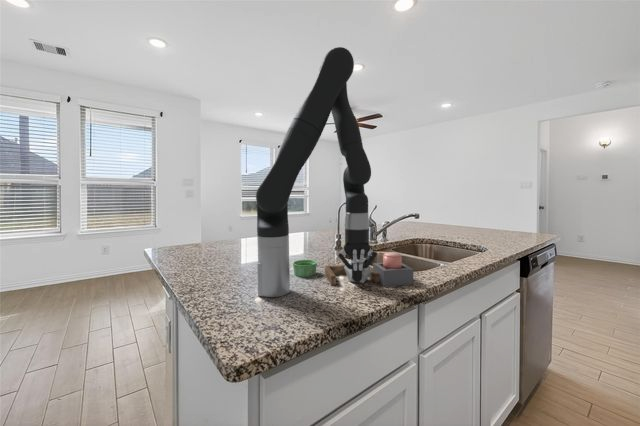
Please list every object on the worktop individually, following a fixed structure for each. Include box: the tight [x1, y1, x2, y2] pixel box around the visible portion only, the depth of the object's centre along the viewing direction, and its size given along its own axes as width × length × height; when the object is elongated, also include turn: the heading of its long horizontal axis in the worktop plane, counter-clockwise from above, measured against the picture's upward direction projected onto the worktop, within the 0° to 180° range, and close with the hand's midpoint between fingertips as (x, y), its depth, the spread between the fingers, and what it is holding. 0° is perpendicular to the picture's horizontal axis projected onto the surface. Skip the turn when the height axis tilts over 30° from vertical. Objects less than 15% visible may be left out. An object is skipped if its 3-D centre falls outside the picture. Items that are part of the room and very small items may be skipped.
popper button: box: [382, 251, 403, 269], centre depth 93 cm, size 6×6×6 cm
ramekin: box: [292, 259, 318, 278], centre depth 103 cm, size 9×9×4 cm
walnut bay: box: [324, 264, 380, 286], centre depth 97 cm, size 16×14×3 cm
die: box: [344, 257, 372, 284], centre depth 93 cm, size 8×9×10 cm
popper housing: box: [372, 262, 414, 287], centre depth 93 cm, size 10×10×5 cm
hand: (356, 281), depth 88 cm, fingers closed
